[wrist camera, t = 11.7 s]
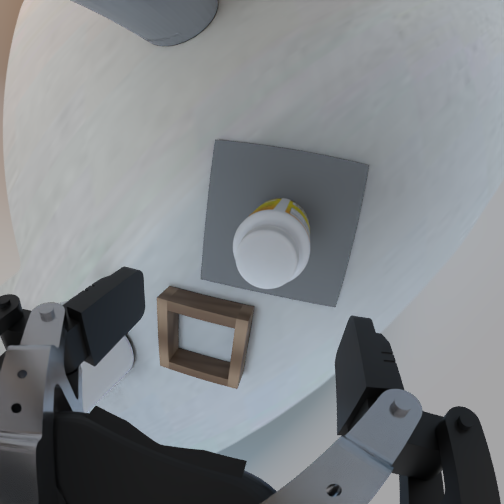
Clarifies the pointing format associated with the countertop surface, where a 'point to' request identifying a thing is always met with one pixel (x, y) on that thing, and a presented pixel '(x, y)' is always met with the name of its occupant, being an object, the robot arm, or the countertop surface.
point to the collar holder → (210, 311)
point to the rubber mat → (290, 187)
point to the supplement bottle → (273, 244)
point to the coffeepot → (105, 372)
